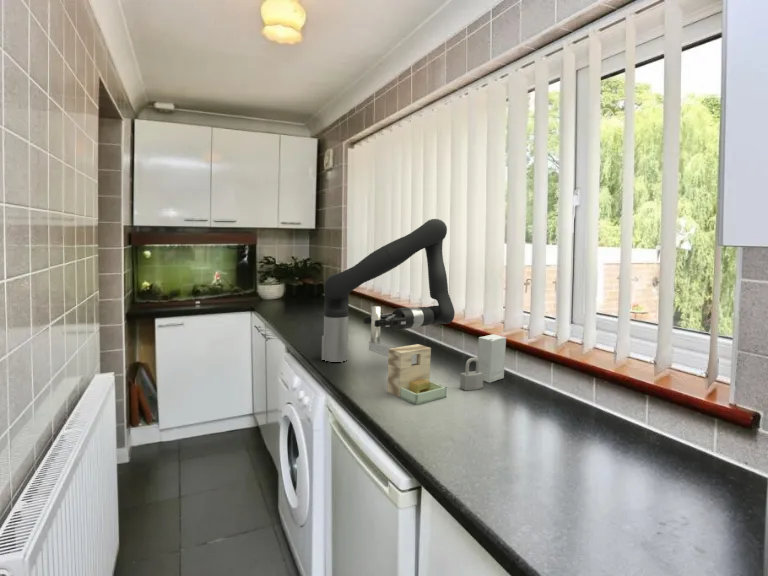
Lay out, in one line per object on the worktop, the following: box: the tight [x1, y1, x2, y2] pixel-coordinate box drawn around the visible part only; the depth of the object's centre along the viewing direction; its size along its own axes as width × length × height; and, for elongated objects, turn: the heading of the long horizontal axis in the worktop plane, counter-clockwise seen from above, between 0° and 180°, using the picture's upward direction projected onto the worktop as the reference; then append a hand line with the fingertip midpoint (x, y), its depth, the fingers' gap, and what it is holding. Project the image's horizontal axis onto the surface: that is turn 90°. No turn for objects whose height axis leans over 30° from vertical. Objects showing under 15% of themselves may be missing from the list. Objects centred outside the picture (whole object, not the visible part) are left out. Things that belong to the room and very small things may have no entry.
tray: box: [399, 380, 448, 406], centre depth 134 cm, size 7×12×3 cm, turn 127°
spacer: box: [410, 379, 432, 394], centre depth 135 cm, size 4×5×4 cm
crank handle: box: [368, 305, 418, 365], centre depth 145 cm, size 22×3×15 cm, turn 38°
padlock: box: [459, 357, 484, 391], centre depth 144 cm, size 7×4×10 cm, turn 118°
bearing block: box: [386, 343, 432, 398], centre depth 139 cm, size 6×12×14 cm, turn 127°
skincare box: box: [477, 333, 507, 383], centre depth 154 cm, size 8×6×15 cm
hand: (369, 322), depth 150 cm, fingers open, 6 cm apart
